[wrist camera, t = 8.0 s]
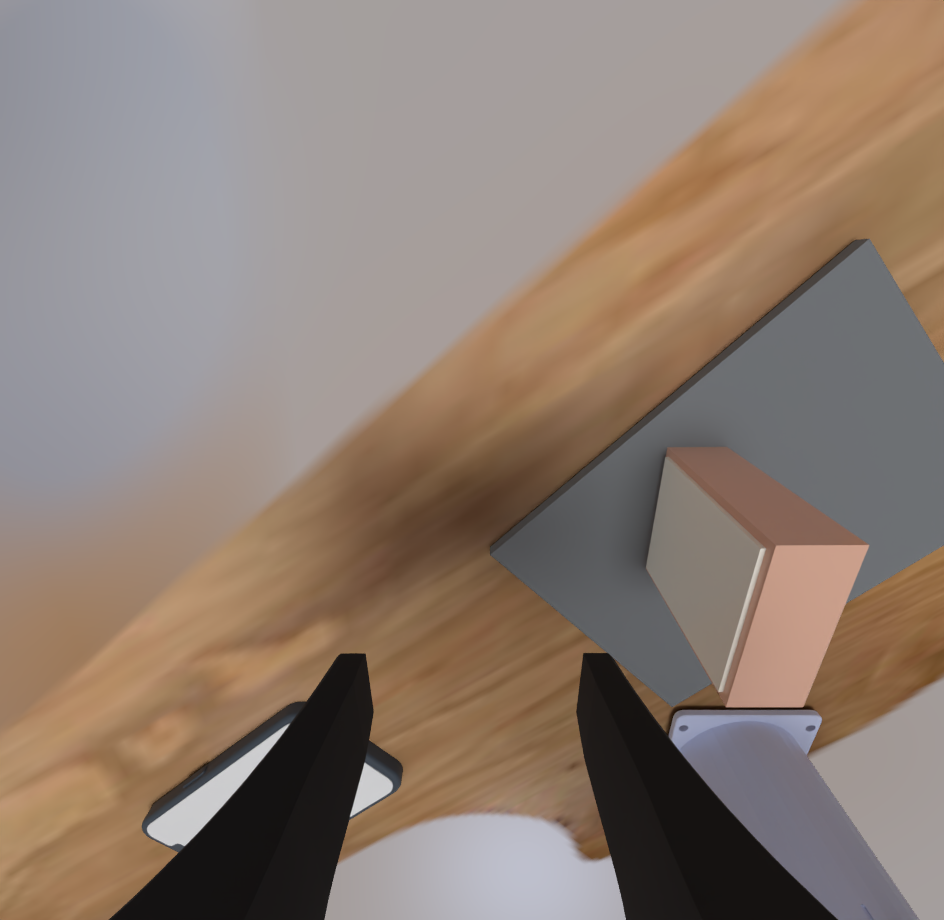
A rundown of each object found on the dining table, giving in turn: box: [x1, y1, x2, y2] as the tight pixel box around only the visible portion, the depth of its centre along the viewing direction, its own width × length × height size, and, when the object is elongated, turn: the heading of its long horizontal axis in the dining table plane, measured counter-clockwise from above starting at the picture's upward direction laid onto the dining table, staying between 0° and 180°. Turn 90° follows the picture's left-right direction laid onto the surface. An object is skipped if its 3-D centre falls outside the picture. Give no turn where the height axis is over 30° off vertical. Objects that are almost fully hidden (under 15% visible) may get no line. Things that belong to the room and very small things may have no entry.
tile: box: [646, 447, 869, 707], centre depth 16 cm, size 6×3×7 cm, turn 1°
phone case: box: [142, 702, 403, 852], centre depth 28 cm, size 9×2×16 cm
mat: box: [490, 239, 944, 707], centre depth 20 cm, size 18×14×1 cm
